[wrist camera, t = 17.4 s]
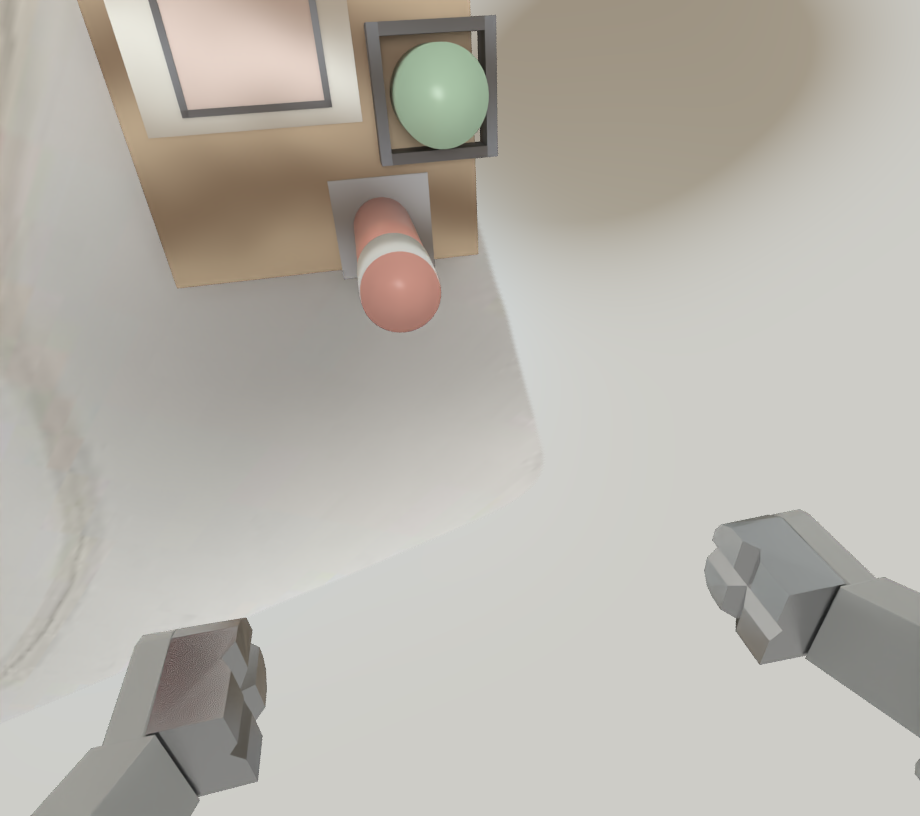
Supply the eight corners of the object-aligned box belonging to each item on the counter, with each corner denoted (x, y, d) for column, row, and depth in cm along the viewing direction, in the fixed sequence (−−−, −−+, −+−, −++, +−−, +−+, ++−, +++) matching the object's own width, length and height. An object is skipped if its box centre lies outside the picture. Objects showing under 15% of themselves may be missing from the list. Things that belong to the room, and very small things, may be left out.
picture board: (487, 255, 32) (499, 270, 30) (185, 289, 30) (173, 308, 28) (474, -279, 21) (491, -318, 19) (-11, -288, 19) (-56, -333, 17)
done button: (475, 136, 27) (489, 145, 25) (394, 143, 27) (401, 152, 24) (472, 39, 25) (487, 38, 23) (384, 45, 25) (390, 44, 22)
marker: (391, 267, 30) (412, 346, 22) (341, 235, 29) (343, 307, 21) (423, 219, 29) (458, 283, 21) (373, 183, 28) (389, 237, 20)
